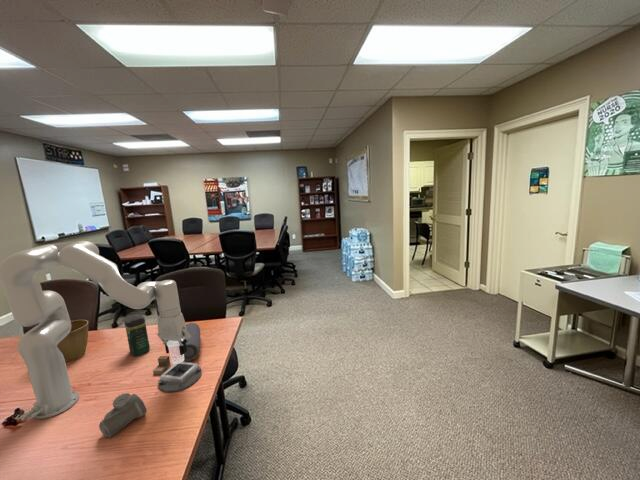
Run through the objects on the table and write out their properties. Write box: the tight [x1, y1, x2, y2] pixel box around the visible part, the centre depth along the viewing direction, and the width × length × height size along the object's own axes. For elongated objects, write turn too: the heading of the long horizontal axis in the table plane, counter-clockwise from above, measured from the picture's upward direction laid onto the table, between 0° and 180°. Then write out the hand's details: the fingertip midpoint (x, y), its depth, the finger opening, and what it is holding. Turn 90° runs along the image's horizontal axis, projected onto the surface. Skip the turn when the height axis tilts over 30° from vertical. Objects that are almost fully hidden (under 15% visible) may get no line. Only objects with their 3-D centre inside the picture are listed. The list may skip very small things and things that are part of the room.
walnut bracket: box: [152, 355, 172, 376], centre depth 122 cm, size 6×4×5 cm, turn 176°
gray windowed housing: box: [157, 361, 202, 393], centre depth 115 cm, size 16×16×4 cm
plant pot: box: [57, 319, 89, 362], centre depth 135 cm, size 15×15×16 cm
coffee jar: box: [123, 313, 151, 357], centre depth 137 cm, size 10×8×19 cm
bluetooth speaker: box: [183, 322, 202, 362], centre depth 136 cm, size 23×9×10 cm, turn 22°
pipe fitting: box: [98, 392, 148, 438], centre depth 93 cm, size 12×8×10 cm
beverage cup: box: [167, 339, 185, 365], centre depth 113 cm, size 6×6×14 cm
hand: (176, 351), depth 114 cm, fingers closed on beverage cup, 6 cm apart
